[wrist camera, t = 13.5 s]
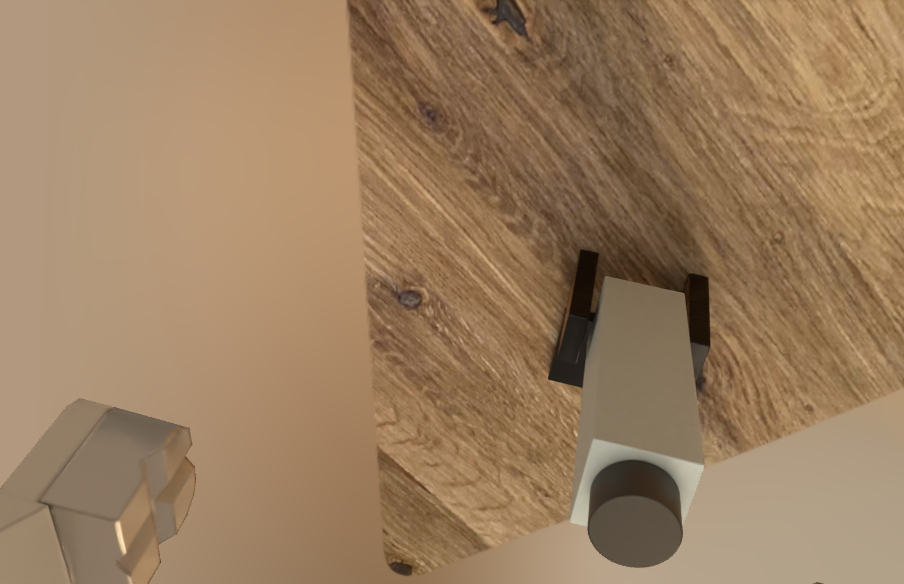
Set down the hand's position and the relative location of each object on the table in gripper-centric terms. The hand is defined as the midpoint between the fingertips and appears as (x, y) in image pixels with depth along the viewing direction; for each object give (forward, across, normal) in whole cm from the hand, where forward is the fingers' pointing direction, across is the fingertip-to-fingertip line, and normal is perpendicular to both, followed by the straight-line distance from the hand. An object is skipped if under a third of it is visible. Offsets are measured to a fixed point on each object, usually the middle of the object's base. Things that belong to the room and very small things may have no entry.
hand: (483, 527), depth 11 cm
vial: (+20, -5, +14) cm, 25 cm away
